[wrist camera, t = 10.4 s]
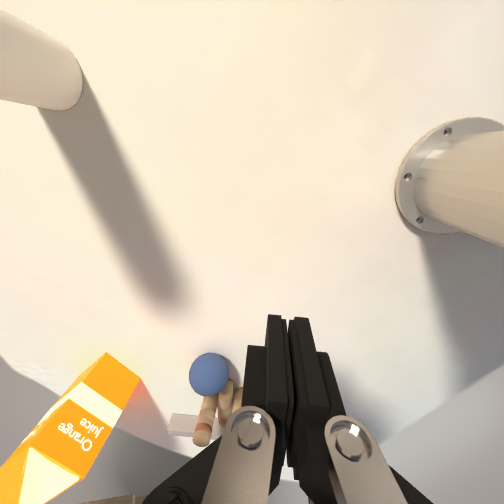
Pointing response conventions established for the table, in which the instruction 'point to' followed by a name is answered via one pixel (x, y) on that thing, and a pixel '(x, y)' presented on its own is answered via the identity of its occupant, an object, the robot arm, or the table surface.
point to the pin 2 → (237, 399)
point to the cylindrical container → (36, 66)
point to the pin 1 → (205, 421)
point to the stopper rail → (190, 426)
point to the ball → (208, 374)
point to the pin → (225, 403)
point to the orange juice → (68, 435)
